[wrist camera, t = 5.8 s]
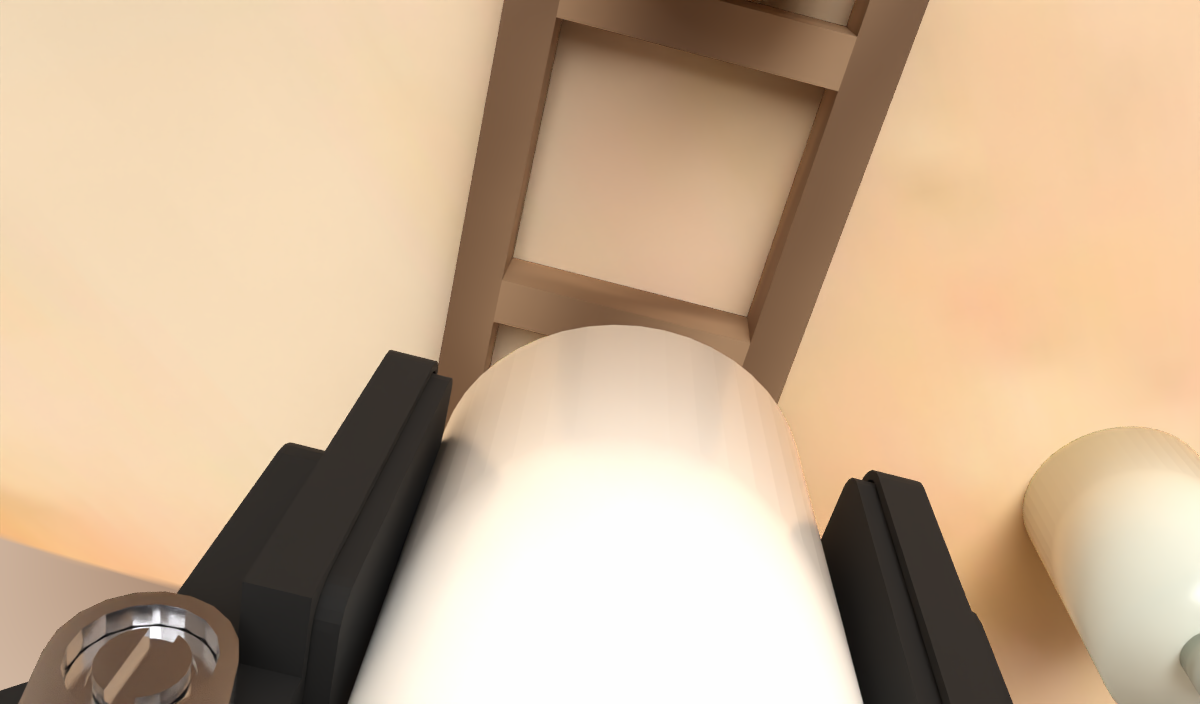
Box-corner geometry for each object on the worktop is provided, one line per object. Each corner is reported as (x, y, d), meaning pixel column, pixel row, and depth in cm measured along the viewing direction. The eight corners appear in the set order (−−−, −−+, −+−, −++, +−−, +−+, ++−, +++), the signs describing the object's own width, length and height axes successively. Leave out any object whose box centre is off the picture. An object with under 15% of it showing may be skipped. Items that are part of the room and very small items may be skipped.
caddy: (1041, -355, 19) (1070, -375, 17) (698, 577, 30) (698, 612, 28) (603, -478, 18) (595, -507, 17) (420, 508, 29) (406, 540, 28)
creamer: (853, 375, 11) (1095, 966, 5) (738, 655, 13) (815, 1310, 7) (353, 257, 10) (-16, 752, 5) (314, 565, 12) (23, 1182, 7)
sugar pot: (1243, 451, 26) (1410, 624, 20) (1154, 588, 28) (1278, 779, 22) (1070, 407, 26) (1184, 568, 20) (994, 548, 28) (1076, 730, 22)
